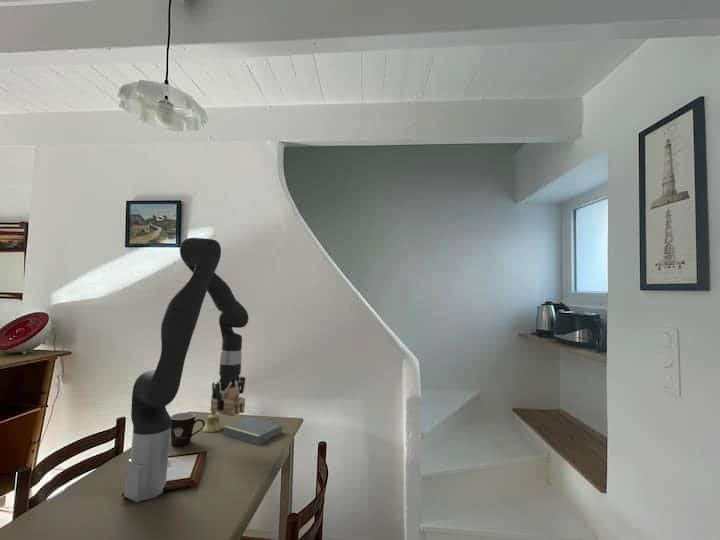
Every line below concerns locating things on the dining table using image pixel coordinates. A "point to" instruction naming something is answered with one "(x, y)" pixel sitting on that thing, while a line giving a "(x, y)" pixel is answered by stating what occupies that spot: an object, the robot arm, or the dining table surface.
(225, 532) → the dining table surface
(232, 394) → the block
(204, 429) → the hand bell
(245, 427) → the dock
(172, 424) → the coffee mug
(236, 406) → the tan boxy piece
